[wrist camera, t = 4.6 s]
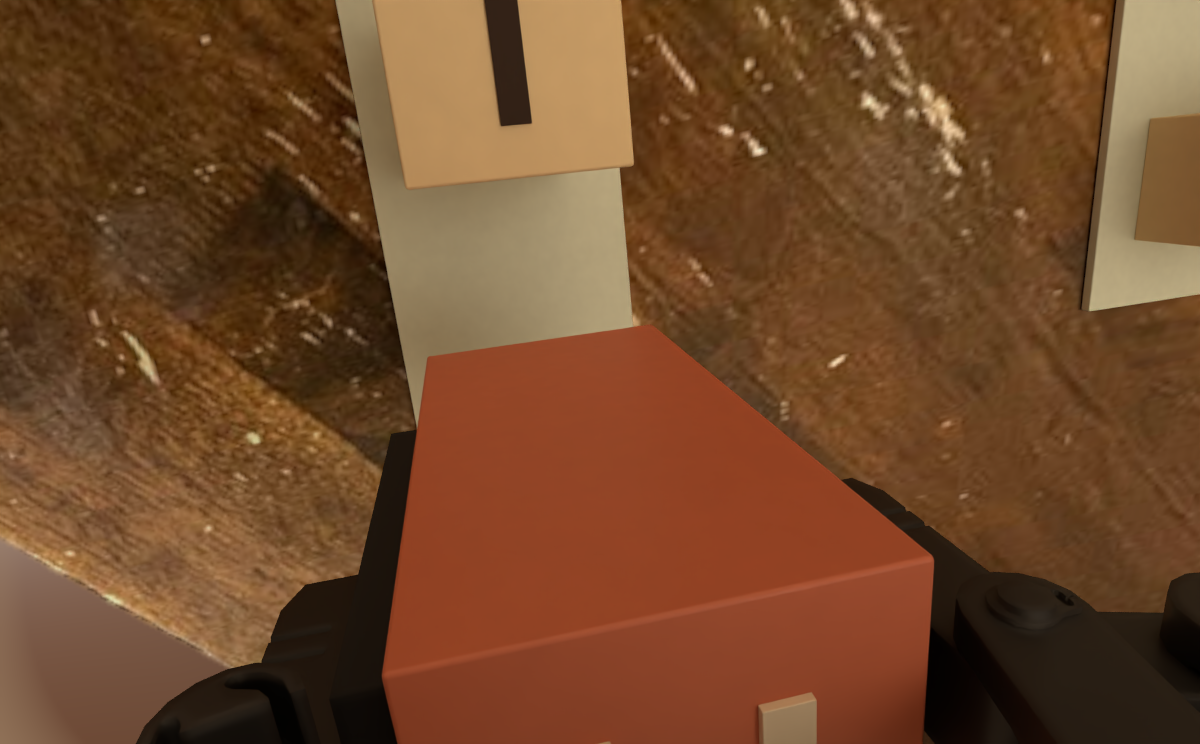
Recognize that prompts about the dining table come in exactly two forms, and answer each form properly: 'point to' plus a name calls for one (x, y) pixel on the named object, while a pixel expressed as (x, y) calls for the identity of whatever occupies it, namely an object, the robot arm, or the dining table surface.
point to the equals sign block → (640, 564)
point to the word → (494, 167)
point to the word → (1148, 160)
